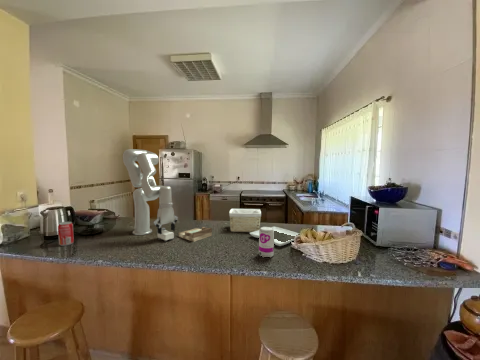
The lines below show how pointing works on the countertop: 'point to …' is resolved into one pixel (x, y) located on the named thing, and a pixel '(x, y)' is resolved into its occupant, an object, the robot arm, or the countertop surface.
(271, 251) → the supplement can
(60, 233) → the soda can
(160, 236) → the cream rod-topped slab
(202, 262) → the countertop surface
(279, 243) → the square plate
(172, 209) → the robot arm
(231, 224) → the storage basket
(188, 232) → the dock
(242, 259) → the countertop surface
